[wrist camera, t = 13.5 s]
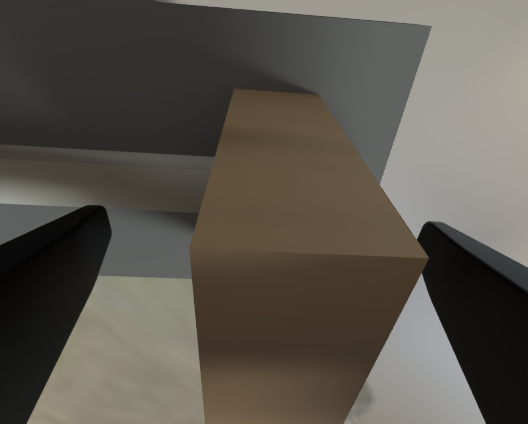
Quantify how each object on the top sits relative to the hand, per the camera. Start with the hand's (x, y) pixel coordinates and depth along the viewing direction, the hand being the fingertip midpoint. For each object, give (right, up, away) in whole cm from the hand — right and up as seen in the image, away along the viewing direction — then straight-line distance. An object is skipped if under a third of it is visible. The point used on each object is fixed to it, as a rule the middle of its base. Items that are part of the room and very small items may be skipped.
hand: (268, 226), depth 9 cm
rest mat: (-5, +2, +3) cm, 6 cm away
